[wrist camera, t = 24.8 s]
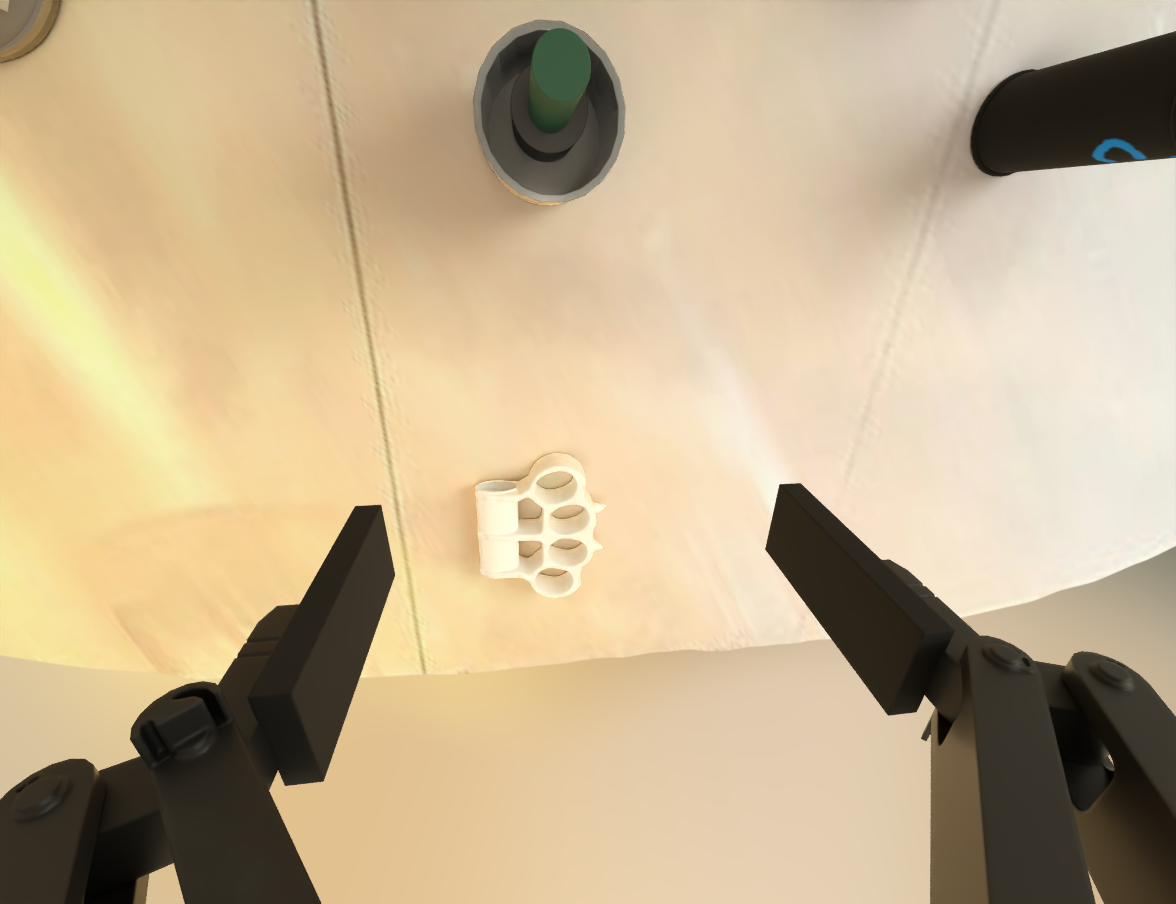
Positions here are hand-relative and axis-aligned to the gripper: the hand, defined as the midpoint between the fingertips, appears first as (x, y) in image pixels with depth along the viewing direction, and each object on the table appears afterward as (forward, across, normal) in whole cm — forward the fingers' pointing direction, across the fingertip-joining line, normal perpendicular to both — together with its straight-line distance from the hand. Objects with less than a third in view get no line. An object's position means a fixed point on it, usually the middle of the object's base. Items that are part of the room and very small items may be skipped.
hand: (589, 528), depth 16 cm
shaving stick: (+25, +1, +13) cm, 29 cm away
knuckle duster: (+35, -1, -23) cm, 42 cm away
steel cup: (+35, 0, +15) cm, 38 cm away
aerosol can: (+35, +44, +18) cm, 59 cm away
